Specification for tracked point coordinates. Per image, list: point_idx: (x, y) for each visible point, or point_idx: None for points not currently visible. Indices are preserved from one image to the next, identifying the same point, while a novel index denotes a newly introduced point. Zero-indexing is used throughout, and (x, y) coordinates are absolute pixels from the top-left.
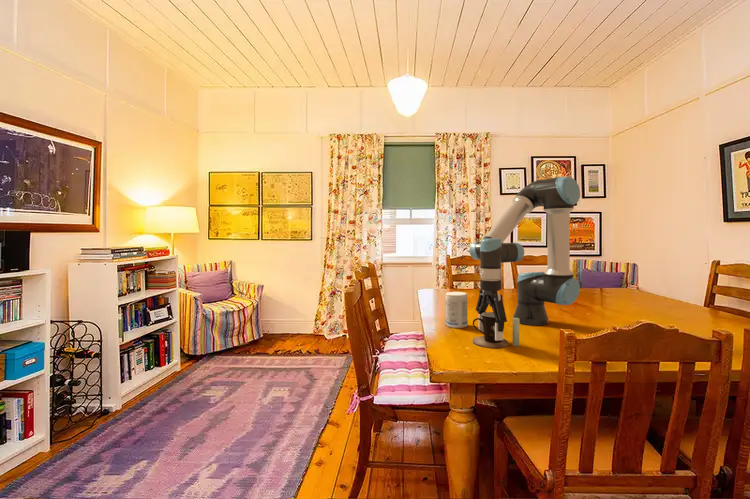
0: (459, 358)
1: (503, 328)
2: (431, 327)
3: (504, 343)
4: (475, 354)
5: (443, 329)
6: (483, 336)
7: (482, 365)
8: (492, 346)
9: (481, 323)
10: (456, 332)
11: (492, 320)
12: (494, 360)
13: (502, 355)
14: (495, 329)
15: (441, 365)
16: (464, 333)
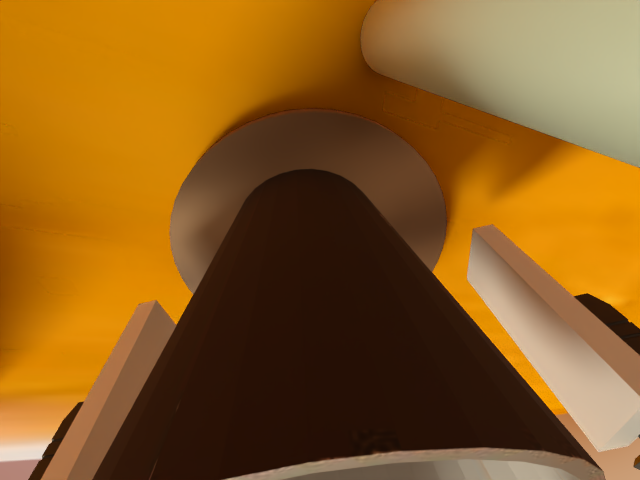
0: (520, 374)
1: (388, 236)
2: (38, 451)
3: (396, 167)
4: (500, 331)
5: (51, 420)
6: (194, 280)
7: (635, 321)
8: (435, 259)
9: None
10: (91, 380)
11: (484, 464)
12: (618, 275)
13: (578, 224)
14: (537, 357)
15: (555, 406)
16: (95, 351)
